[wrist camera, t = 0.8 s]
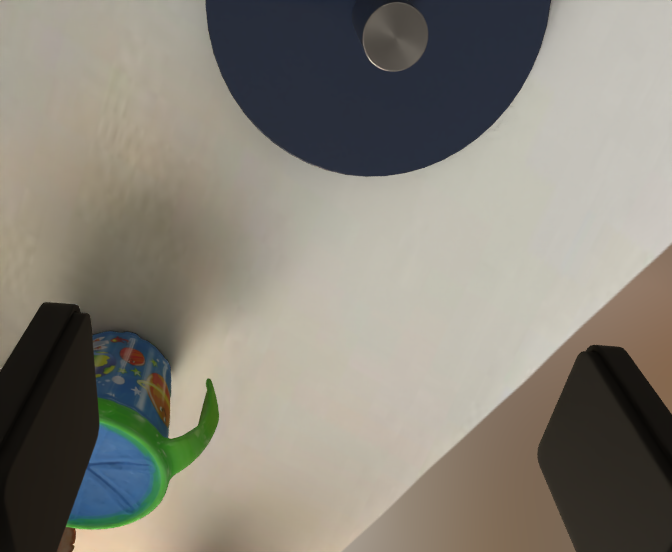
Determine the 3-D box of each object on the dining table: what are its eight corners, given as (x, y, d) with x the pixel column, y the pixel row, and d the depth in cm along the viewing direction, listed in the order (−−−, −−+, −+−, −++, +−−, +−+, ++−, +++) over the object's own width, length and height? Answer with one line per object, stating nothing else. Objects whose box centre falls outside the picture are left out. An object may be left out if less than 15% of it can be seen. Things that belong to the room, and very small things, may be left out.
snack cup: (30, 422, 48) (-28, 537, 40) (-8, 311, 43) (-85, 416, 34) (231, 416, 49) (218, 527, 41) (220, 306, 44) (201, 407, 35)
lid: (176, -181, 29) (144, -201, 23) (564, -213, 29) (634, -242, 23) (236, 182, 39) (225, 235, 33) (528, 156, 39) (571, 204, 33)
